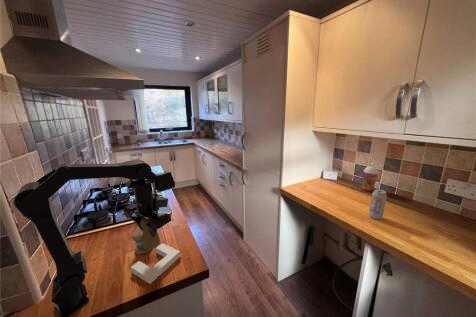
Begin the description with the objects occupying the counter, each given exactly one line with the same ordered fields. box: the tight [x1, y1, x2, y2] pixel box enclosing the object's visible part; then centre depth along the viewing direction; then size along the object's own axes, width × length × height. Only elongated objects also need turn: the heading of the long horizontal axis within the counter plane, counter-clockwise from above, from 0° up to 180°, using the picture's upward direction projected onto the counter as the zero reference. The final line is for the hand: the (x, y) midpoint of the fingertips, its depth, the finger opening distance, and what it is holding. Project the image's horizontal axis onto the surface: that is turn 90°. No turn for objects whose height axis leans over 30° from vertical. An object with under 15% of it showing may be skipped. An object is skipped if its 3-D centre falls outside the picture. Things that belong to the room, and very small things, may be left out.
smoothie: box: [361, 161, 379, 193], centre depth 131 cm, size 8×8×20 cm
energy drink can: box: [368, 188, 388, 221], centre depth 100 cm, size 6×6×15 cm
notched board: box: [130, 242, 181, 285], centre depth 73 cm, size 14×10×2 cm
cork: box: [140, 218, 161, 250], centre depth 71 cm, size 6×6×11 cm
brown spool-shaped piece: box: [131, 228, 152, 256], centre depth 81 cm, size 7×7×8 cm
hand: (149, 234), depth 71 cm, fingers closed on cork, 4 cm apart
